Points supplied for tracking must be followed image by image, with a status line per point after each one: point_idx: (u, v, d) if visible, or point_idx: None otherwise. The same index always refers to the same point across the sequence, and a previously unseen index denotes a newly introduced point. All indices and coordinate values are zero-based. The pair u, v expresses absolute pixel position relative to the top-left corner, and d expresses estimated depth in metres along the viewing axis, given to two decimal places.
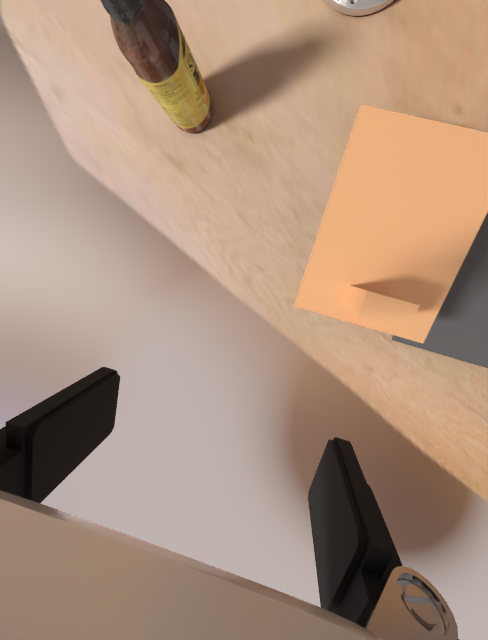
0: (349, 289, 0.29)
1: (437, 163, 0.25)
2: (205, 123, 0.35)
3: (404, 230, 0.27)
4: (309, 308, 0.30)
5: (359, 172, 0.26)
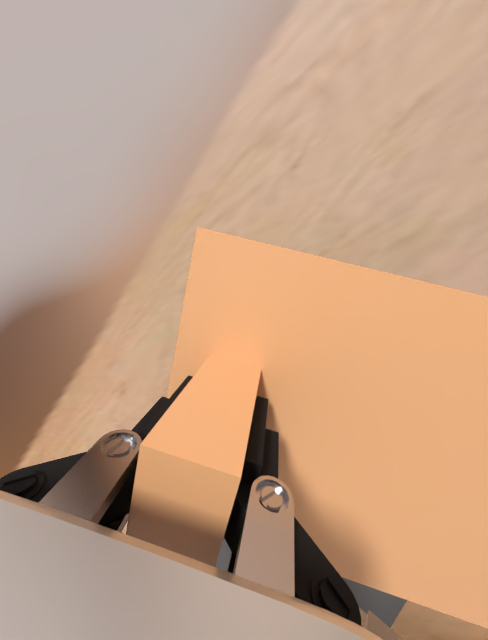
0: (250, 369, 0.11)
1: None
2: None
3: (391, 475, 0.12)
4: (194, 271, 0.11)
5: None
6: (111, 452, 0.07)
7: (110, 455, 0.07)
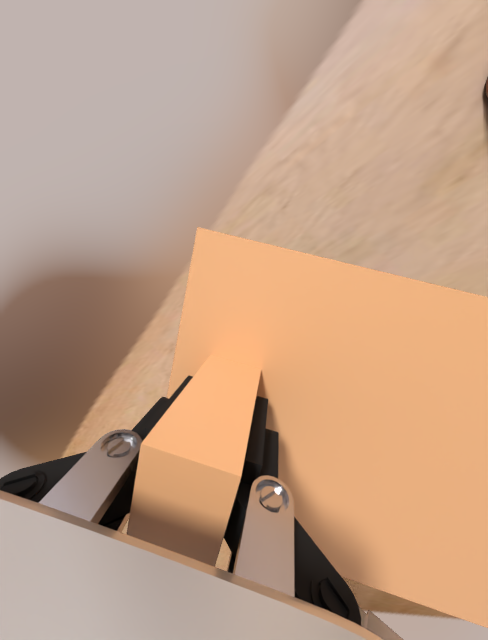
0: (250, 369, 0.11)
1: None
2: None
3: (391, 475, 0.12)
4: (194, 271, 0.11)
5: None
6: (111, 452, 0.07)
7: (110, 455, 0.07)
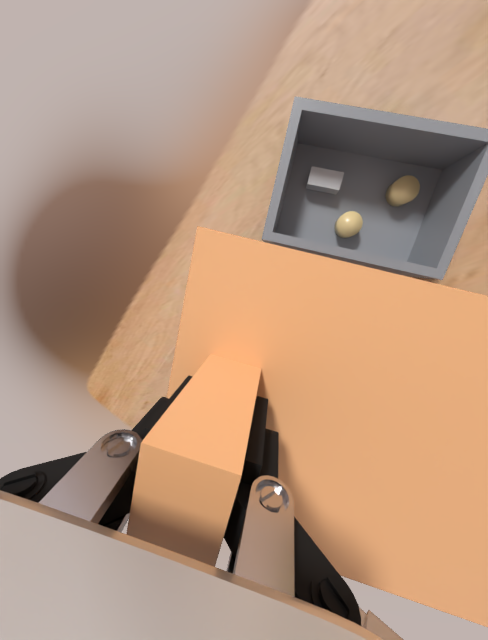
0: (251, 368, 0.11)
1: None
2: None
3: (391, 474, 0.12)
4: (194, 270, 0.11)
5: None
6: (111, 452, 0.07)
7: (110, 455, 0.07)
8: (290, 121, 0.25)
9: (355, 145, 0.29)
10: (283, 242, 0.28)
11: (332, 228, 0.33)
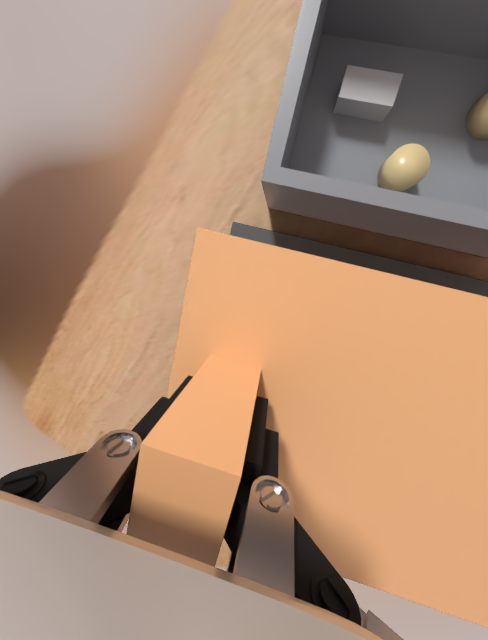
0: (250, 369, 0.11)
1: None
2: None
3: (391, 475, 0.12)
4: (194, 271, 0.11)
5: None
6: (111, 452, 0.07)
7: (110, 455, 0.07)
8: None
9: (426, 22, 0.17)
10: (299, 186, 0.16)
11: (374, 179, 0.21)
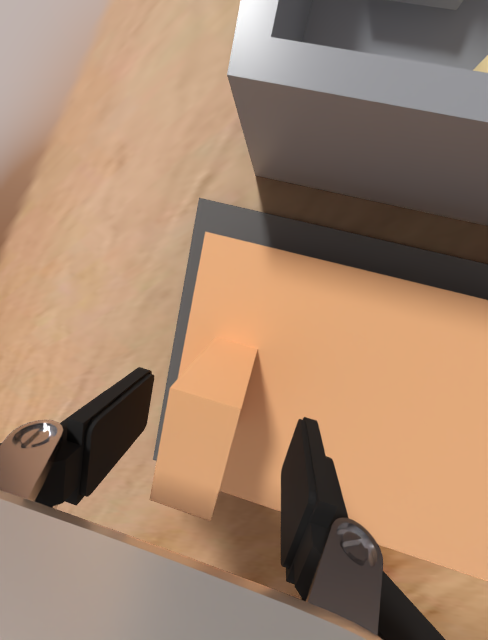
0: (249, 348, 0.13)
1: (487, 481, 0.14)
2: None
3: (365, 436, 0.14)
4: (202, 267, 0.13)
5: None
6: (27, 444, 0.07)
7: (27, 447, 0.06)
8: None
9: None
10: (316, 83, 0.07)
11: None
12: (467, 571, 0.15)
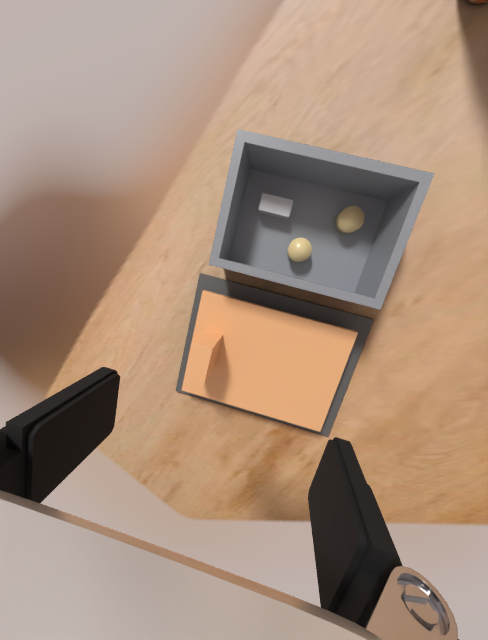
0: (219, 334, 0.35)
1: (310, 386, 0.35)
2: None
3: (265, 370, 0.35)
4: (201, 303, 0.35)
5: (309, 335, 0.34)
6: None
7: None
8: (233, 152, 0.26)
9: (303, 175, 0.30)
10: (229, 268, 0.28)
11: (285, 252, 0.34)
12: (309, 427, 0.37)
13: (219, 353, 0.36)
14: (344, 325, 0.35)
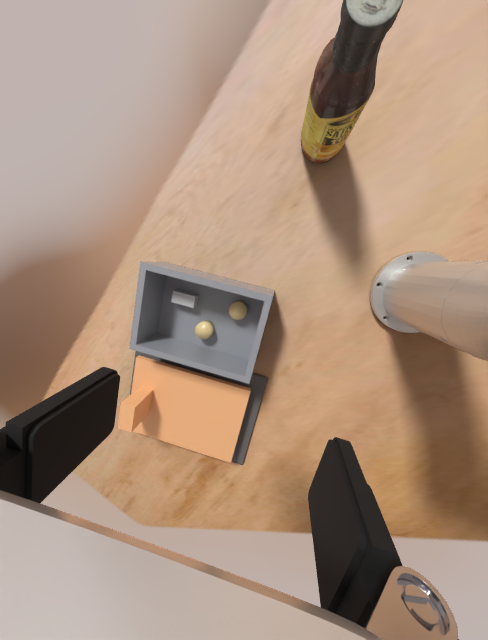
0: (149, 389, 0.46)
1: (220, 429, 0.46)
2: (306, 156, 0.36)
3: (186, 416, 0.46)
4: (136, 366, 0.45)
5: (215, 392, 0.44)
6: None
7: None
8: (139, 276, 0.36)
9: None
10: (144, 352, 0.39)
11: None
12: (222, 459, 0.47)
13: (152, 402, 0.47)
14: None
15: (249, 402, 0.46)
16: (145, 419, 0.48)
